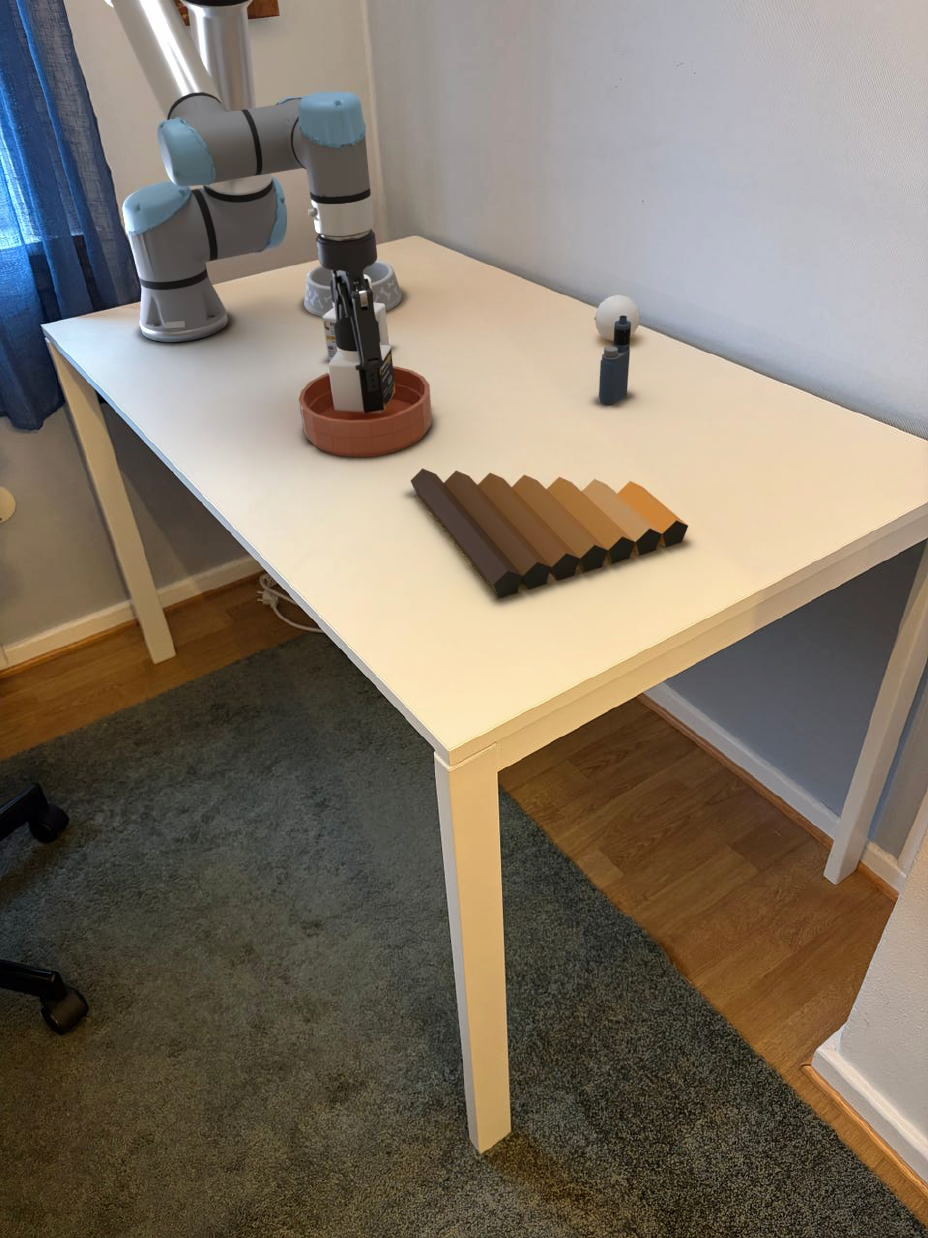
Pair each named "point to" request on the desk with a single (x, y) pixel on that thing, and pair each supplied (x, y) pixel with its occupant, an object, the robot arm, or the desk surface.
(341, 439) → the bowl
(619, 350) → the vaping device
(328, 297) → the dog bowl
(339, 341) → the medicine bottle
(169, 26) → the robot arm
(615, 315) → the white egg
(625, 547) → the pan flute
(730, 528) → the desk surface
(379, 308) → the container
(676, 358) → the desk surface
